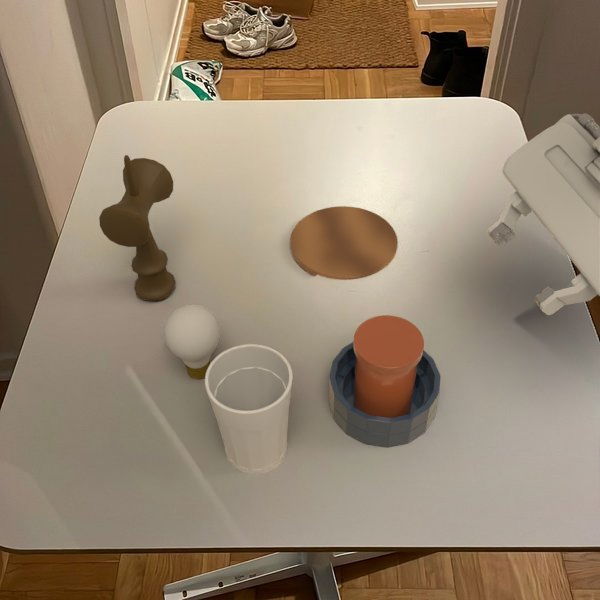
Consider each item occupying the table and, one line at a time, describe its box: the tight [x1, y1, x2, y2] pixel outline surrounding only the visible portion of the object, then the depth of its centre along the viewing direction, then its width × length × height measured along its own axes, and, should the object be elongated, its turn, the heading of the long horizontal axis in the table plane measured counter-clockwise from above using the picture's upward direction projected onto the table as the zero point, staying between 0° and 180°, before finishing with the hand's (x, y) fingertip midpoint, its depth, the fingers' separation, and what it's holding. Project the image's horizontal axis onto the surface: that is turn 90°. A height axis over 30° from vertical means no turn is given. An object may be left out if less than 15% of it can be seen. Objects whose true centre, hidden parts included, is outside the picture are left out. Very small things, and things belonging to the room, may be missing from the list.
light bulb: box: [163, 303, 221, 380], centre depth 79 cm, size 6×6×10 cm
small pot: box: [353, 314, 425, 418], centre depth 75 cm, size 7×7×10 cm
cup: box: [204, 343, 294, 475], centre depth 71 cm, size 8×8×12 cm
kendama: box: [98, 154, 176, 302], centre depth 85 cm, size 6×10×20 cm, turn 171°
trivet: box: [290, 205, 399, 281], centre depth 97 cm, size 14×14×1 cm
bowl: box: [328, 341, 442, 448], centre depth 77 cm, size 11×11×5 cm
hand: (516, 272), depth 68 cm, fingers open, 8 cm apart
